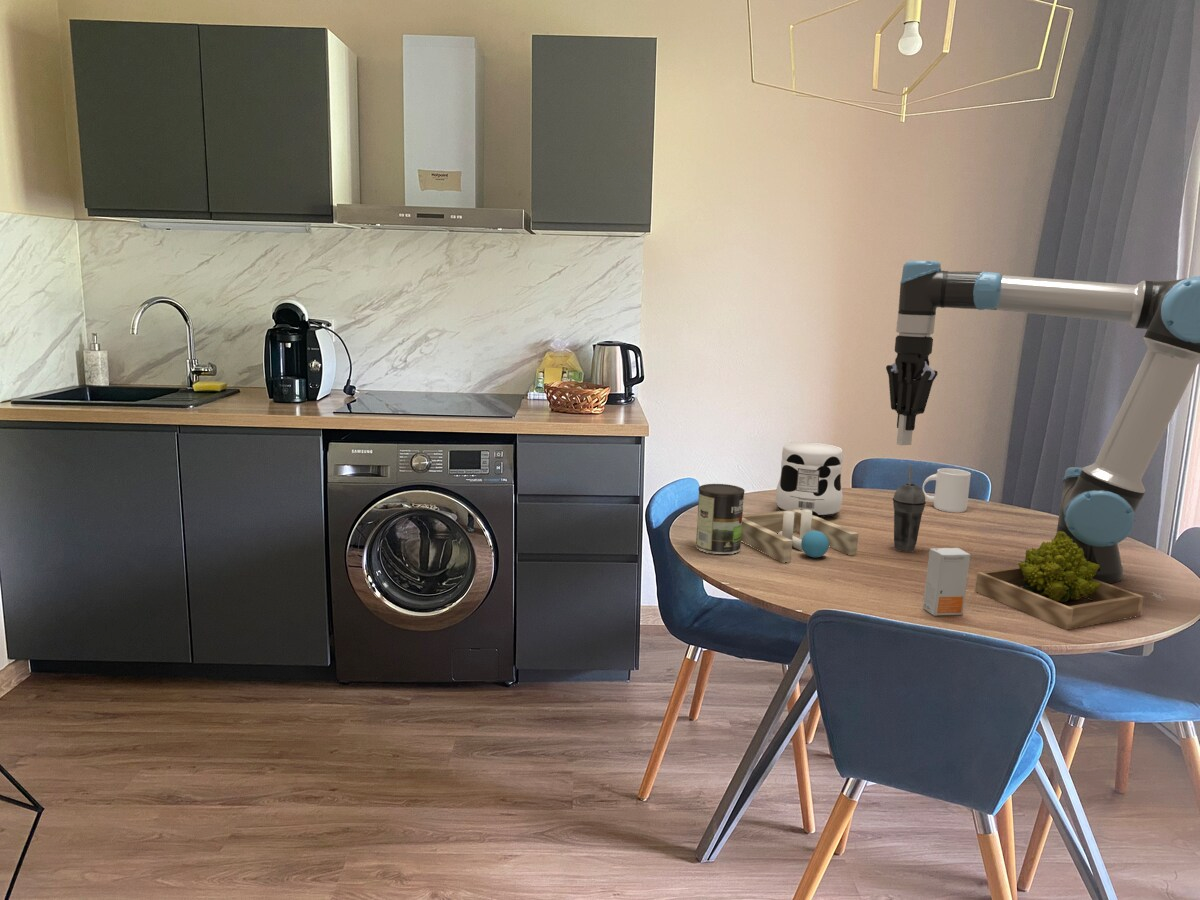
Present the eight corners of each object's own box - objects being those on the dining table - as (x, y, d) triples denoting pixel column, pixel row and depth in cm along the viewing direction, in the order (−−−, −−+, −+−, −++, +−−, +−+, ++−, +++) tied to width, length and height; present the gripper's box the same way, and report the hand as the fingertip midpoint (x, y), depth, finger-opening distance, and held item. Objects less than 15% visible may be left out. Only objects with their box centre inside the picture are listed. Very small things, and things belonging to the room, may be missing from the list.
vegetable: (1006, 586, 168) (1037, 517, 170) (1001, 599, 182) (1030, 534, 184) (1089, 621, 161) (1120, 548, 163) (1077, 631, 175) (1106, 564, 177)
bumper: (856, 554, 198) (858, 533, 197) (783, 563, 190) (784, 541, 189) (797, 528, 218) (799, 509, 217) (729, 535, 210) (730, 515, 209)
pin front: (807, 540, 200) (785, 530, 207) (799, 541, 199) (777, 531, 206) (807, 550, 200) (785, 540, 208) (798, 551, 199) (776, 541, 207)
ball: (819, 524, 198) (814, 547, 200) (798, 528, 195) (793, 551, 197) (836, 535, 193) (832, 559, 195) (815, 540, 190) (810, 564, 192)
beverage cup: (926, 549, 204) (935, 465, 200) (912, 555, 199) (921, 469, 195) (896, 542, 209) (904, 460, 205) (882, 548, 204) (890, 464, 200)
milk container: (816, 503, 244) (821, 440, 241) (854, 519, 228) (860, 452, 225) (762, 507, 238) (766, 442, 235) (797, 524, 222) (803, 454, 219)
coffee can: (747, 546, 201) (751, 487, 199) (731, 558, 193) (734, 496, 190) (705, 539, 206) (709, 481, 204) (688, 550, 197) (691, 489, 195)
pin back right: (811, 547, 203) (814, 511, 201) (803, 548, 202) (805, 512, 200) (805, 544, 205) (807, 509, 203) (796, 545, 204) (799, 509, 202)
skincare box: (934, 616, 162) (941, 554, 160) (922, 608, 166) (928, 547, 164) (964, 615, 163) (971, 554, 161) (951, 607, 167) (958, 547, 165)
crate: (1140, 616, 165) (1143, 596, 165) (1066, 630, 157) (1069, 609, 157) (1045, 580, 184) (1047, 562, 184) (974, 591, 176) (977, 572, 176)
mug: (922, 502, 250) (926, 465, 248) (968, 508, 245) (972, 470, 243) (918, 508, 243) (922, 470, 241) (964, 514, 237) (969, 476, 235)
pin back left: (793, 549, 201) (796, 513, 199) (785, 550, 200) (787, 514, 198) (787, 546, 203) (790, 510, 201) (779, 547, 202) (781, 511, 200)
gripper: (951, 337, 181) (939, 449, 185) (906, 333, 193) (896, 438, 197) (923, 337, 178) (912, 450, 182) (879, 333, 190) (869, 440, 194)
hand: (903, 444), depth 190 cm, fingers closed
